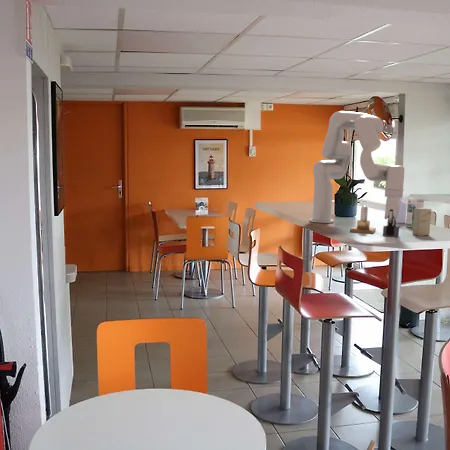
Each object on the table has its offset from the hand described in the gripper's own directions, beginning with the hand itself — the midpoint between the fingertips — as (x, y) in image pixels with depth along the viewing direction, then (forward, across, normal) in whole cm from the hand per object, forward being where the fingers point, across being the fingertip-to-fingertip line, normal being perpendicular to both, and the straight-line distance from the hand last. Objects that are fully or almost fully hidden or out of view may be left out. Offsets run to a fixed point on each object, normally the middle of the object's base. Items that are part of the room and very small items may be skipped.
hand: (390, 233), depth 246 cm
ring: (+1, 0, 0) cm, 1 cm away
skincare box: (+1, -11, +12) cm, 16 cm away
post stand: (+1, -6, -13) cm, 14 cm away
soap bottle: (+1, -56, -3) cm, 56 cm away
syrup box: (+1, -39, +7) cm, 40 cm away
